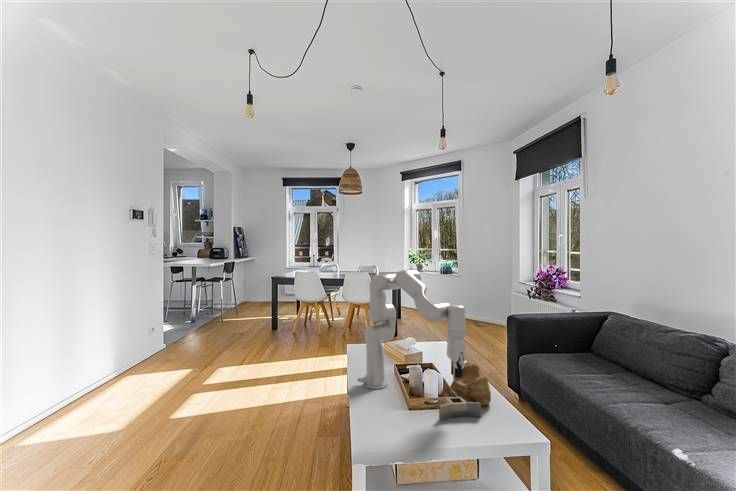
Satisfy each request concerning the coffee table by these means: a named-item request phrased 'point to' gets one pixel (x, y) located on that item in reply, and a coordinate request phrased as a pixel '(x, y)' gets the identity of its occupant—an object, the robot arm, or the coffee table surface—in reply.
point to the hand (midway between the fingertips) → (456, 375)
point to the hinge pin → (454, 372)
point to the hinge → (459, 409)
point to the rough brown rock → (472, 385)
